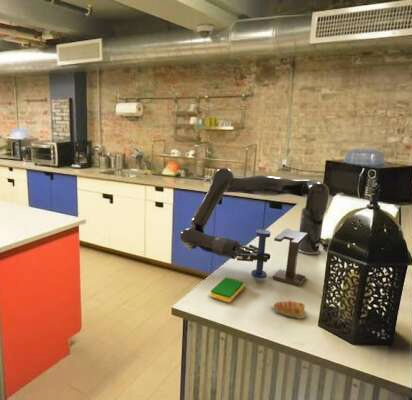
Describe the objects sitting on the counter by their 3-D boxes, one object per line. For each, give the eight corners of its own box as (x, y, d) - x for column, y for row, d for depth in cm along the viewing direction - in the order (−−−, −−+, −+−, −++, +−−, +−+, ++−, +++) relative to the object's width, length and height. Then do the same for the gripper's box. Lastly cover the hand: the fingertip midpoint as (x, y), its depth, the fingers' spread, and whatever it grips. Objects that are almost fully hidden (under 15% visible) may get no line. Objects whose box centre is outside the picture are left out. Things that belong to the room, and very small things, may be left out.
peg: (254, 271, 147) (258, 228, 143) (268, 275, 144) (273, 231, 139) (249, 276, 143) (253, 231, 138) (263, 280, 139) (268, 235, 135)
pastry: (274, 315, 119) (275, 304, 118) (272, 305, 125) (273, 295, 124) (305, 320, 117) (307, 309, 116) (302, 309, 123) (303, 299, 122)
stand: (279, 271, 151) (284, 227, 147) (305, 278, 145) (311, 232, 141) (266, 284, 140) (271, 237, 135) (294, 293, 134) (300, 243, 129)
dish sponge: (243, 288, 137) (244, 282, 137) (229, 303, 127) (229, 296, 126) (225, 282, 141) (226, 276, 141) (210, 296, 131) (210, 290, 130)
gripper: (218, 243, 144) (263, 254, 133) (233, 234, 154) (275, 243, 144) (217, 261, 146) (261, 273, 135) (232, 251, 156) (273, 261, 146)
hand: (268, 258), depth 140 cm, fingers closed on peg, 2 cm apart
